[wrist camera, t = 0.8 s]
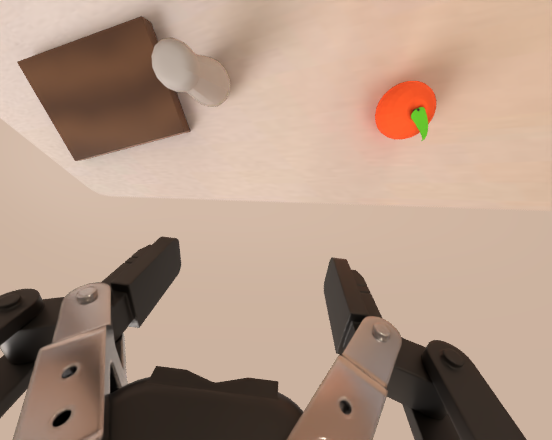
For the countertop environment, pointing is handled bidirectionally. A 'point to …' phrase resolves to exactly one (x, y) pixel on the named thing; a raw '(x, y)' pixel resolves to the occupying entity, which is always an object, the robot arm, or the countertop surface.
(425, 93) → the clementine
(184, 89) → the salt shaker
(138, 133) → the cutting board
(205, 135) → the countertop surface
